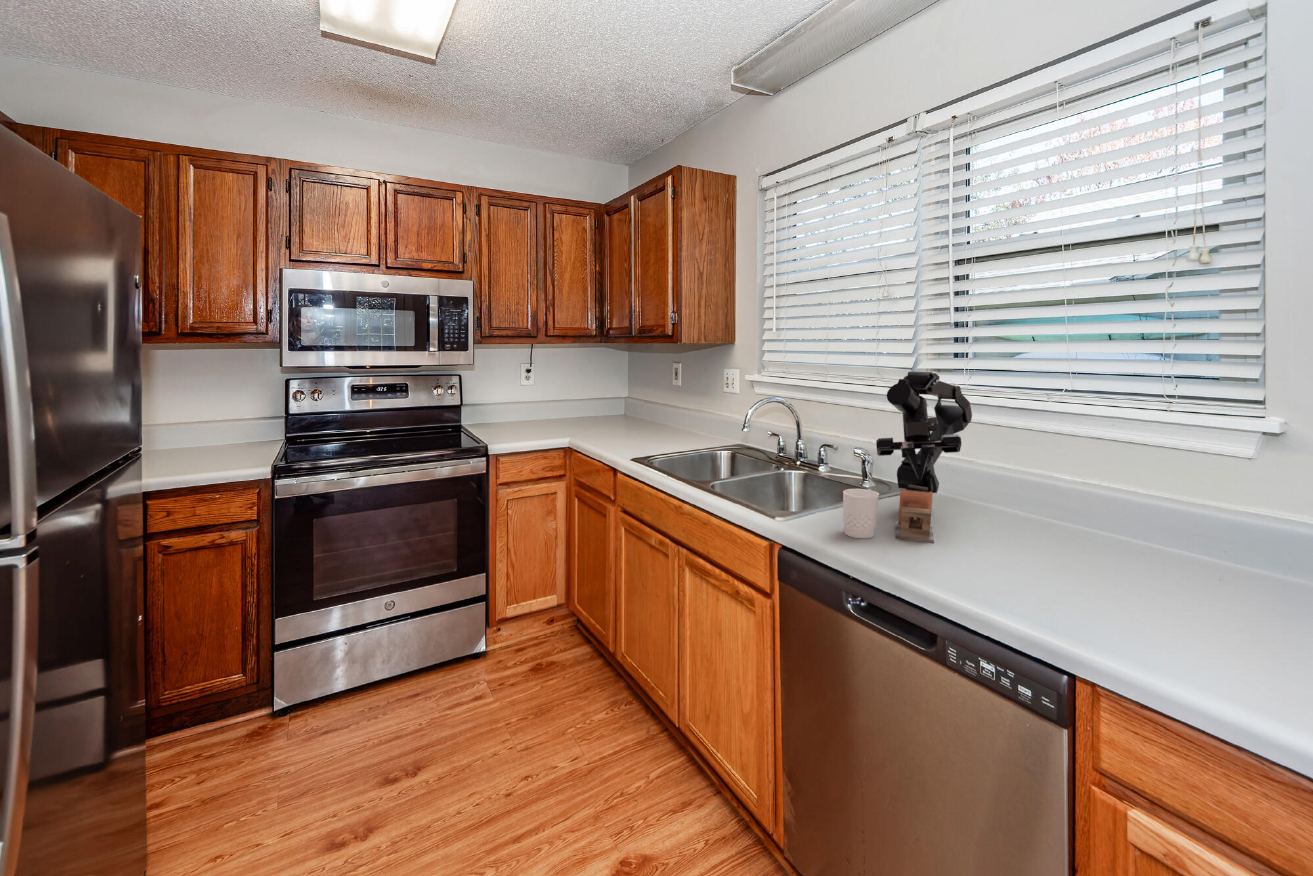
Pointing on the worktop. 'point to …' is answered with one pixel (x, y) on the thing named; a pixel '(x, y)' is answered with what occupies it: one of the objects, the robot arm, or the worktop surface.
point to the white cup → (860, 512)
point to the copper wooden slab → (914, 503)
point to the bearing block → (915, 531)
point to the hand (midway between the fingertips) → (920, 478)
